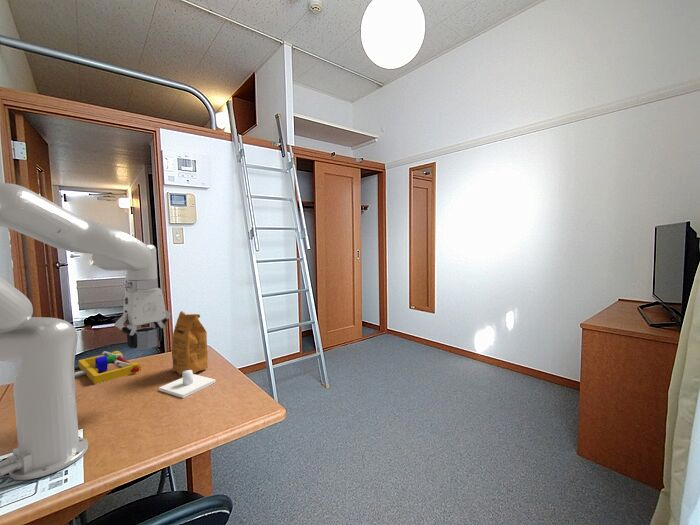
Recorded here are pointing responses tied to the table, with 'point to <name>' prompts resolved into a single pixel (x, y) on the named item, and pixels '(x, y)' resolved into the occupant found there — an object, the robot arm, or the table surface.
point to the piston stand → (187, 384)
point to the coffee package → (189, 344)
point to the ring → (147, 337)
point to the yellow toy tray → (101, 363)
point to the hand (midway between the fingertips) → (145, 343)
